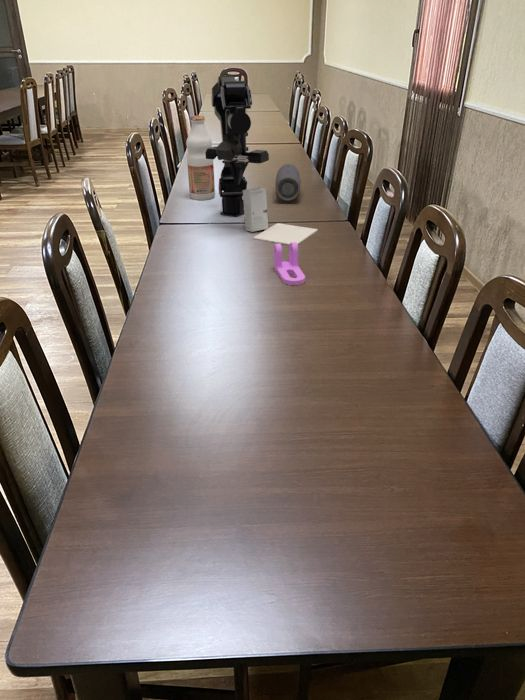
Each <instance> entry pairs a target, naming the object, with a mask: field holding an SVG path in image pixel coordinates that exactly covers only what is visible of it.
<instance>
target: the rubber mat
mask: <svg viewBox="0 0 525 700" xmlns="http://www.w3.org/2000/svg"><path fill="white" fill-rule="evenodd" d="M318 231H319V228H318V229H317V228H313V227H306V226H298V225H294V224H293V225H292V224H285V223H275V224H274V225H272V226H270V227H268V229H264V231H263V230H262V232H260V233H258V234H256V235H255V236H253V237H252V240H255V241H256V240H257V241H262V242H268V243H274V244H279V243H280V244H281V245H287V246H290V243H291V242H297V244H298V245H300V244H301V243H303V242H304V241H305V240H307V239H309V238H310V237H311V236H312V235H314V234H315V233H317V232H318Z"/></svg>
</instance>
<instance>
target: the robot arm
mask: <svg viewBox="0 0 525 700" xmlns="http://www.w3.org/2000/svg"><path fill="white" fill-rule="evenodd" d="M235 77H236V76H234V75H220V76H218V77H217V82H216V83H215V84H214V85H213V86H212V87H211V107H213V110H214V115H215V116H216V117H217V120H219V122H220V133H221V142H220V143H219V144H218V145H217V146H212V147H211V148H208V149H207V150H206V152H205V156H206V159H213V160H216V158H217V160H218V161H221V160H222V161H221V162H222V164H223V168H222V169H221V173H220V177H219V178H218V195H219V197H220V198H221V203H222V204H221V207H222V208H221V209H222V211H221V212H219V214H220V215H223V216H229V217H238V216H241V215H243V214H244V201H243V190H246V189H248V181H247V179H246V177H245V176H244V173H245V171H246V170H247V166H248V165H249V163H250V164H258V165H259V164H262V163H266V162H268V161H270V155H269V152H268V150H264V149H255V150H252V151H249V147H248V146H247V137H248V136H249V131H250V129H251V127H252V120H251V118H250V117H251V116H249V115H248V114H247V112H246V110H247V109H252V106H253V99H252V92H251V89H250V87H249V85H248V84H247V82H246V81H245V80H236V79H235Z"/></svg>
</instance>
